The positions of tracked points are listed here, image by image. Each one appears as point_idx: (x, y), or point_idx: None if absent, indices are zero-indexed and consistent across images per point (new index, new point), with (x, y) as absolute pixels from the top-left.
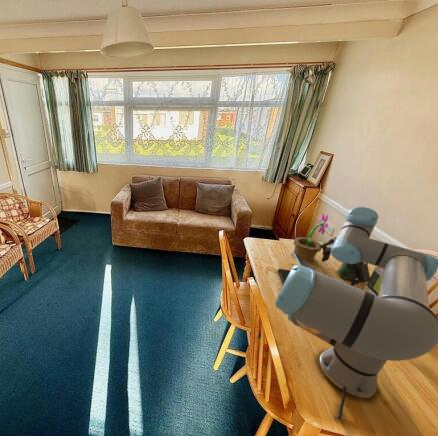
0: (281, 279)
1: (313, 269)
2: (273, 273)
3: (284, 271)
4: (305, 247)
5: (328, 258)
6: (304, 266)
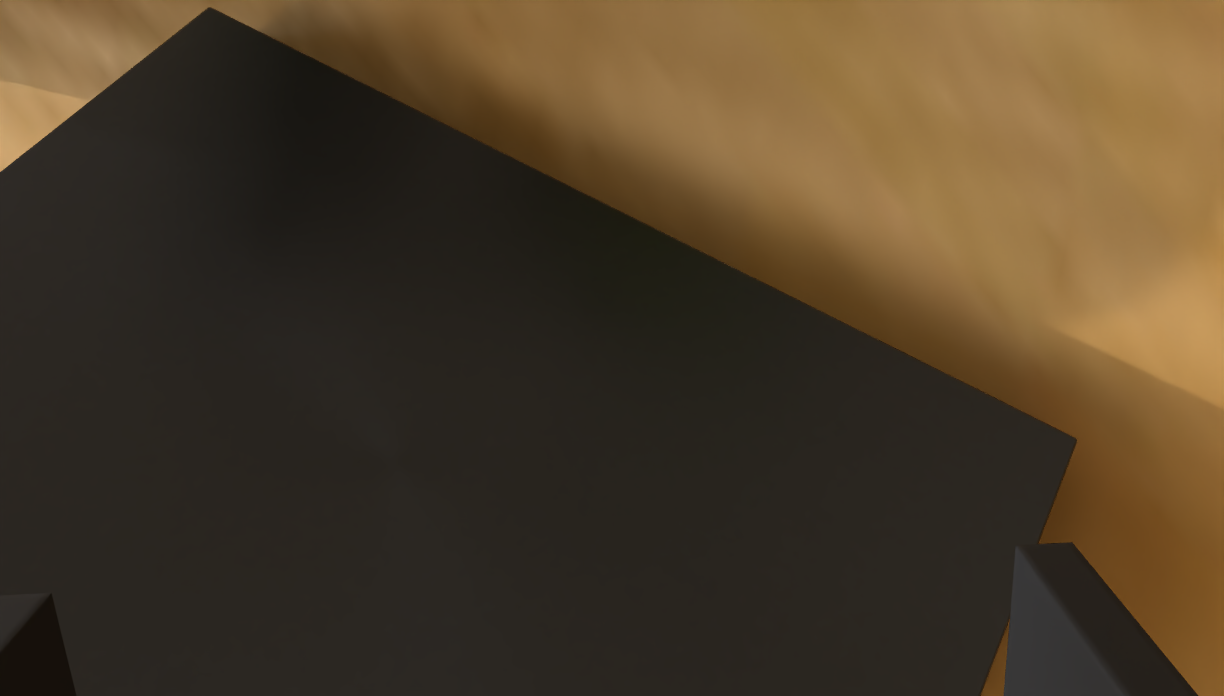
0: None
1: (119, 233)
2: None
3: None
4: None
5: (13, 659)
6: None
